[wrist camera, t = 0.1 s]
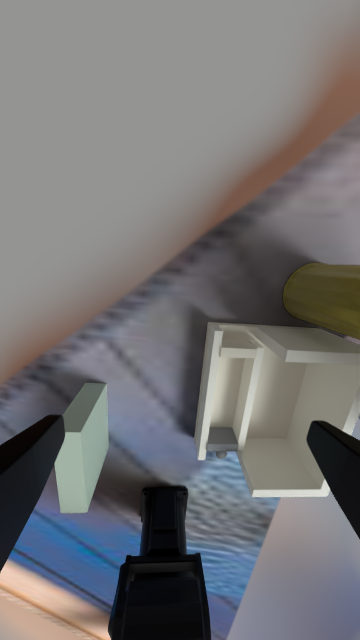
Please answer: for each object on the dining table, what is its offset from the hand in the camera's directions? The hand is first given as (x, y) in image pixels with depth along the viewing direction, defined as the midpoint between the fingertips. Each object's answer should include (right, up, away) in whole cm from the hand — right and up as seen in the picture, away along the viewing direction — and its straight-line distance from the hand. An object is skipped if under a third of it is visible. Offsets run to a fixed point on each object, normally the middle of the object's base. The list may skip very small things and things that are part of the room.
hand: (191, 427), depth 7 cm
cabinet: (+9, -4, +17) cm, 19 cm away
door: (-11, -8, +17) cm, 22 cm away
